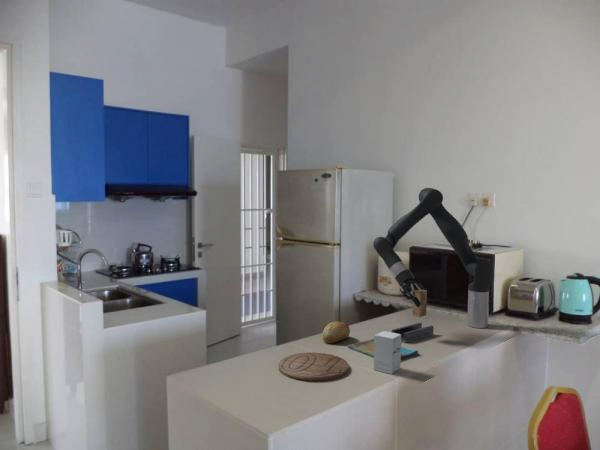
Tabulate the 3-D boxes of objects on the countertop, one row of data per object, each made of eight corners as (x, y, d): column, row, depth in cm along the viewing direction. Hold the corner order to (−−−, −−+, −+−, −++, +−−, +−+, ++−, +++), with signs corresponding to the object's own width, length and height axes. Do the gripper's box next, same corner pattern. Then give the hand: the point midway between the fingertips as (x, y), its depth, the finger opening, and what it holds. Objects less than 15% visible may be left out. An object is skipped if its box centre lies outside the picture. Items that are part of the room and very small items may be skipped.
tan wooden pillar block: (419, 313, 207) (420, 289, 206) (426, 315, 204) (426, 290, 203) (412, 315, 203) (413, 290, 203) (419, 317, 201) (420, 291, 200)
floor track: (419, 331, 216) (419, 322, 216) (433, 334, 210) (433, 326, 210) (391, 338, 204) (391, 329, 203) (405, 343, 198) (405, 333, 198)
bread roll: (355, 338, 204) (356, 320, 204) (336, 346, 192) (336, 327, 192) (337, 334, 210) (337, 316, 210) (317, 342, 198) (317, 323, 198)
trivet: (354, 361, 176) (354, 356, 176) (340, 386, 152) (340, 380, 152) (290, 354, 183) (290, 349, 183) (268, 377, 159) (268, 372, 159)
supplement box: (391, 374, 162) (392, 338, 161) (372, 369, 166) (373, 334, 166) (401, 368, 168) (401, 333, 167) (382, 364, 172) (383, 330, 171)
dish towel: (389, 365, 172) (390, 358, 172) (346, 349, 191) (346, 343, 191) (420, 356, 182) (420, 350, 182) (376, 341, 201) (376, 336, 201)
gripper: (396, 270, 204) (418, 302, 195) (416, 267, 213) (438, 298, 204) (386, 280, 208) (407, 312, 200) (406, 277, 217) (427, 307, 209)
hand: (423, 304), depth 202 cm, fingers closed on tan wooden pillar block, 5 cm apart
